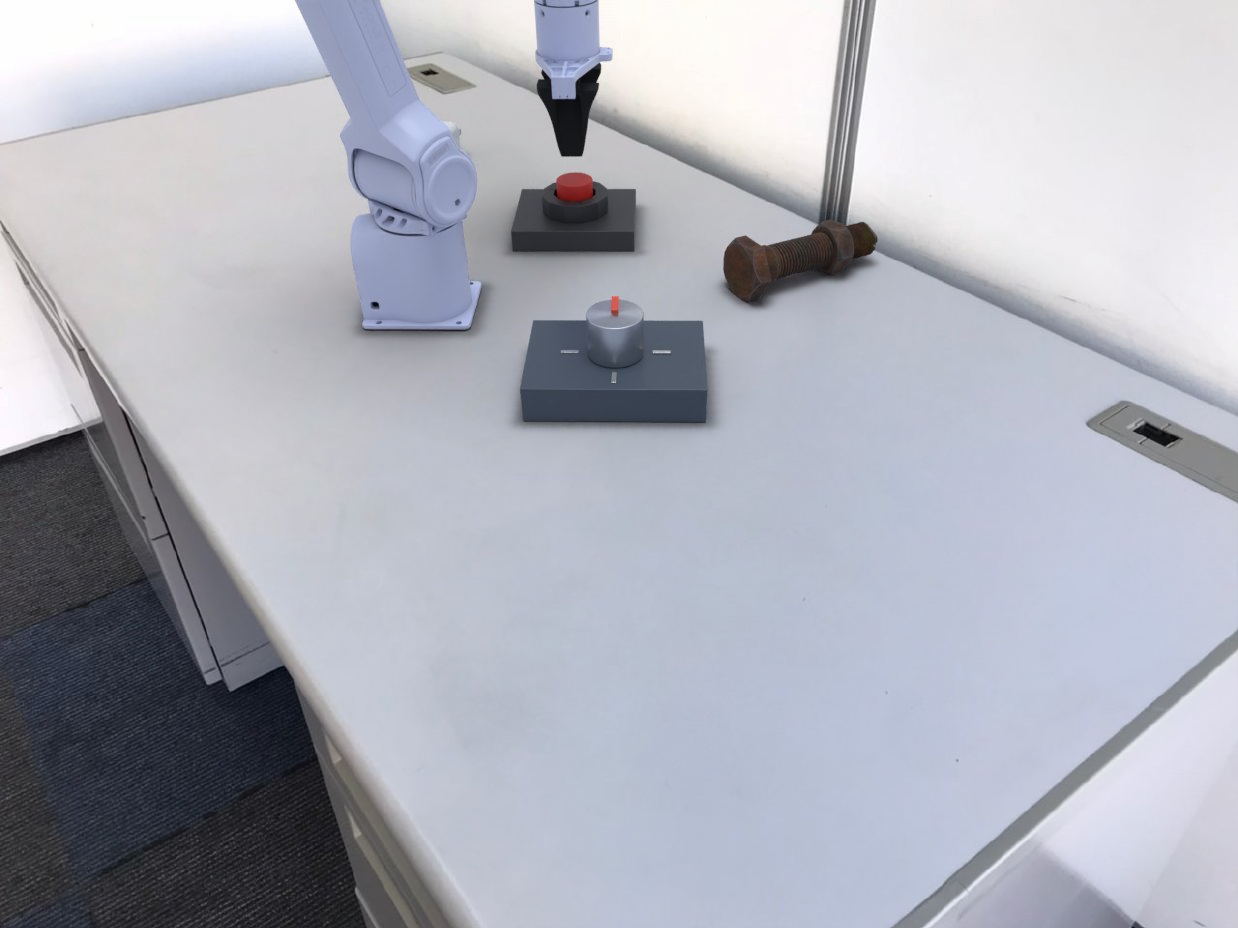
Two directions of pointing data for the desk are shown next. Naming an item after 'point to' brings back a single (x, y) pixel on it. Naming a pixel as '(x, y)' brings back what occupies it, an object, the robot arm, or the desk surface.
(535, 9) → the robot arm
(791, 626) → the desk surface
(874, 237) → the bolt
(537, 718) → the desk surface
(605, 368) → the valve panel
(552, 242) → the button base
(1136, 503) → the desk surface
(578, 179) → the button
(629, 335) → the rotary knob
